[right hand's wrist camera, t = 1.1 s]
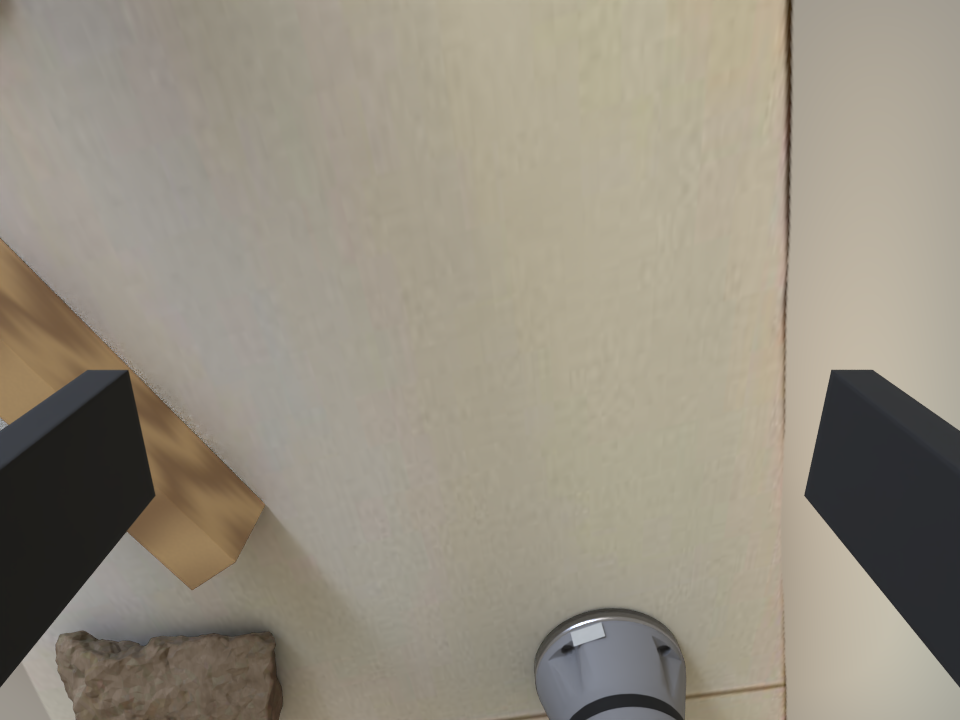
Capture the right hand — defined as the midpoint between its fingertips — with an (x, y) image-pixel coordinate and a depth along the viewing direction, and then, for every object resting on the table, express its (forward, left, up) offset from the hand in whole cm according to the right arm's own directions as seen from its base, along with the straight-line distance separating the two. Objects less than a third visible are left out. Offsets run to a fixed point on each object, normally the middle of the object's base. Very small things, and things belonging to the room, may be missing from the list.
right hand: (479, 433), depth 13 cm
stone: (-50, +31, -41) cm, 71 cm away
